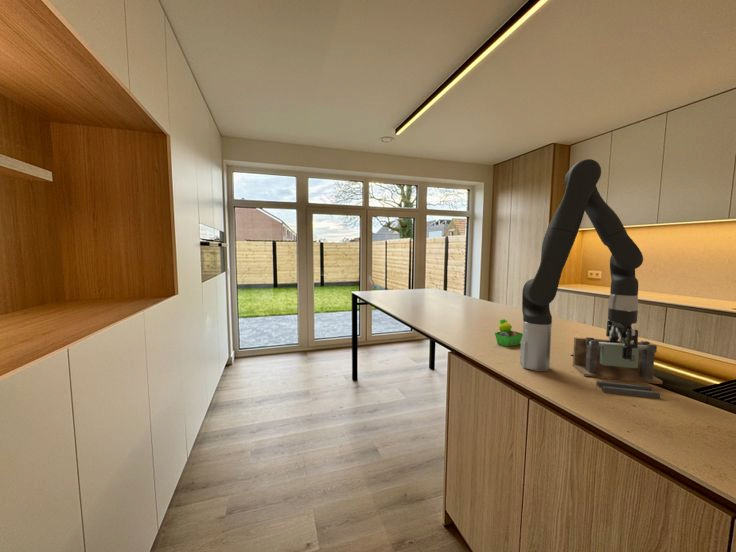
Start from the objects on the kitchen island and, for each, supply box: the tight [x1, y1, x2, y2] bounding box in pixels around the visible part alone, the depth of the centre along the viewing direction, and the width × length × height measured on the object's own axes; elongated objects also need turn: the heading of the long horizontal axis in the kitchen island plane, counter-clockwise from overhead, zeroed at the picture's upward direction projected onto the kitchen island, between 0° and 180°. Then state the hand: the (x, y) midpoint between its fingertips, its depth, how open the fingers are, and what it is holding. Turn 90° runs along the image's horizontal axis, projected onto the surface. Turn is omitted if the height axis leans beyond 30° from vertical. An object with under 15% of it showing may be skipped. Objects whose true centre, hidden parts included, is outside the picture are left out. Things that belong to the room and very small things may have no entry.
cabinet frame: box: [572, 336, 663, 385], centre depth 103 cm, size 22×10×13 cm, turn 74°
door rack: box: [595, 380, 661, 399], centre depth 90 cm, size 14×5×2 cm, turn 74°
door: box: [589, 341, 647, 368], centre depth 100 cm, size 18×3×8 cm, turn 74°
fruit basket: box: [494, 318, 523, 347], centre depth 138 cm, size 11×9×11 cm
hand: (619, 354), depth 100 cm, fingers open, 8 cm apart
